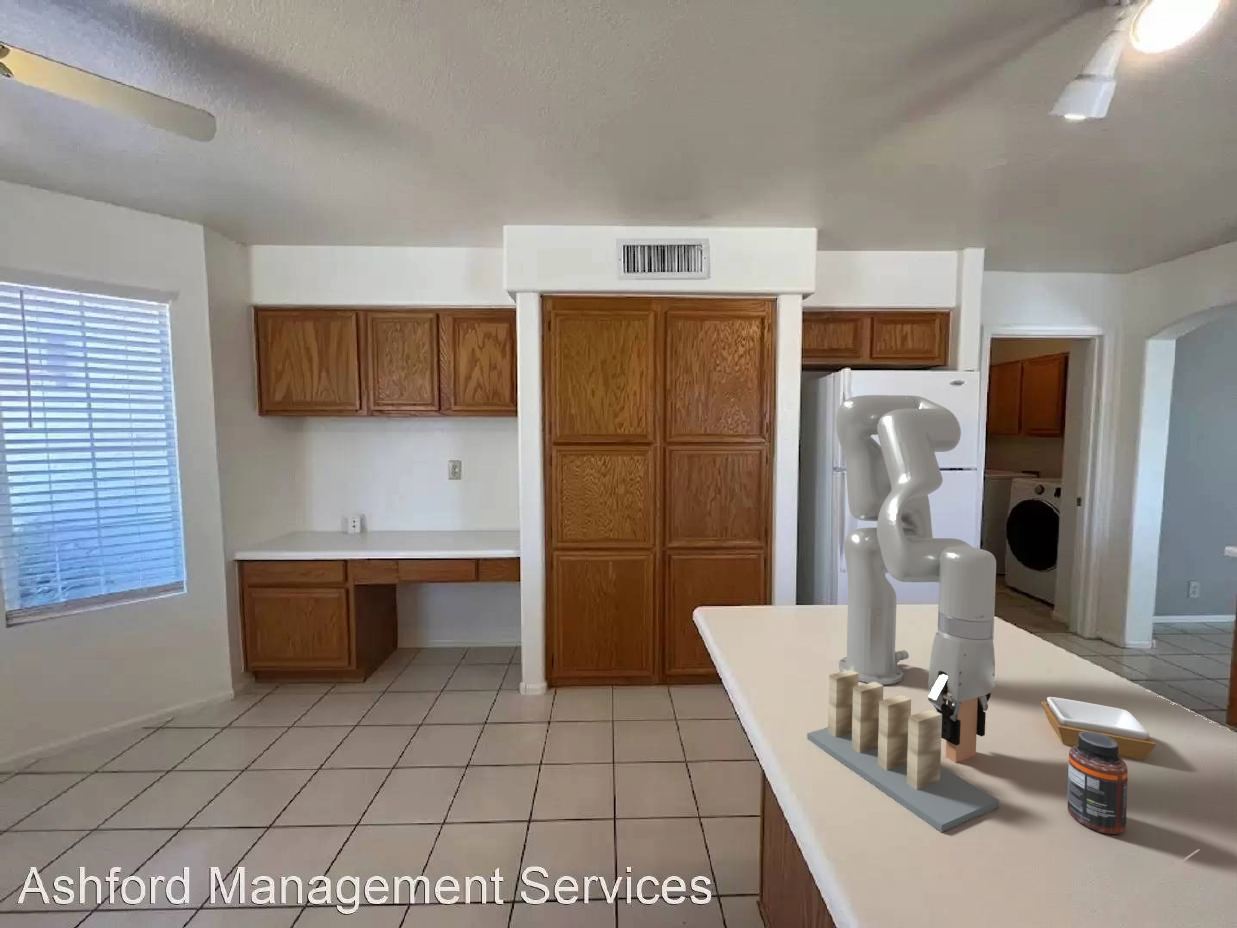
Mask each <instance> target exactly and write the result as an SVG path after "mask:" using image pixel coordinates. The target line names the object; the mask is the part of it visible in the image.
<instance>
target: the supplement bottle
mask: <svg viewBox="0 0 1237 928" xmlns="http://www.w3.org/2000/svg"><path fill="white" fill-rule="evenodd" d="M1078 743H1079V744H1078V745H1075V746H1071V748H1069V752H1068V771H1067V774H1068V776H1067V777H1068V778H1067V780H1068V782H1067V810H1068V813H1069V814H1070V816H1071V817H1072V818H1073V819H1074V820H1075V821H1076V822H1078V823H1079V824H1080V825H1083V826H1084V827H1086V828H1088V829H1091V830H1093V831H1096V832H1098V833H1104V834H1108V835H1109V834H1110V835H1117V834H1118V835H1119V834H1122V833H1124V832H1125V830H1126V829H1127V828H1126V827H1127V807H1128V805H1127V803H1128V781H1129V780H1128V778H1129V777H1128V776H1129V775H1128V774H1129V771H1128V766H1127V763H1126V762H1125V761H1124V760H1123V759H1122V758H1121V756H1120V755H1118V753H1119V752H1118V743H1117V742H1116V741H1115V740H1113V739H1112V738H1110V737H1108V736H1105V735H1103V734H1099V733H1095V732H1088V731H1084V732H1080V733H1079V740H1078Z"/></svg>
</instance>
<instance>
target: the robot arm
mask: <svg viewBox="0 0 1237 928" xmlns="http://www.w3.org/2000/svg"><path fill="white" fill-rule="evenodd" d="M835 427H836V428H835V429H836V435H837V438H838V441H839V445H840V447H841V450H842V453H843V456H844V462H845V476H846V477H845V478H846V489H847V501H848V509H849V512H850V514H851V515H852V517H853V518H855V519H856V520H858V521H865V522H877V524H876V527H862V528H857V529H854V530H852V531H850V532H849V533H848V534H847V535H846V537H845V540H844V544H843V550H844V551H843V552H844V557H845V564H846V569H847V570H846V572H847V618H846V619H847V623H846V625H847V626H846V627H847V629H846V656H845V657H843V658H841V659H840V660H839V661H838V669H839V670H840V672H844V671H848V670H853V671H855V672H857V673H858V682H862V683H865V684H868V683H872V682H877V683H879V684H881V685H883V686H886V685H895V684H897V683H900V682H901V681H902V680H903V677H904V673H903V670H902V669H901V668H900V667H899V666H898V663H899V662H901V661H904V660H908V659H909V653H908V651H906V650H905V649H903V650H902V649H901V650H899V651H896V636H897V635H896V634H897V633H896V630H897V594H896V593H897V592H896V590H895V588H894V586H893V585H892V584H891V582H890V581H889V580H888V578H887V577H886V574H889V575H890V576H891V577H892V578H893V579H895V580H897V581H899V582H902V583H938V609H937V610H938V611H937V613H938V614H937V632H935V635H934V639H933V642H932V646H931V653H930V659H929V660H930V661H929V671H928V691H930V693H929V695H928V697H927V700H928V702H929V703H930V704H931V705H932V706H933V707H934V708H935V711H936V712H939V713H941V714H942V732H941V739H943V740H945V741H946V740H947V741H949V742H950V743H952V744H954V745H959V744H960V726H961V721H960V720H958V715H959V711H960V706H961V702H963V701H967V700H970V699H974V698H977V697H978V706H977V734H976V736H980V737H984V736H986V715H987V714H986V713H987V711H988V710H989V704H988V702H989V700H990V699H991V696H992V693H993V691H994V689H995V687H996V685H997V682H996V681H995V680H996V679H995V677H996V659H995V656H996V655H995V646H994V645H995V644H994V635H995V634H994V631H995V611H996V610H995V608H996V607H995V605H996V579H997V578H996V577H997V560H996V558H995V555H994V554H993V553H992V552H990V551H988V550H985V549H981V548H978V547H974V546H972V545H971V544H969V543H967V542H966V541H964V540H962V539H958V538H949V537H948V538H942V537H941V538H938V537H937V538H934V537H933V536H934V535H933V528H932V527H933V525H932V515H931V506H930V505H931V504H930V499H929V495H930V494H932V493H934V492H935V491H937V490H938V489H940V487H941V486H942V484H943V475H942V473H941V470H940V465H939V463H938V460H937V459H938V458H937V456H936V453H945V452H950V451H952V450H954V449H955V448H957V446H958V444H959V443H960V440H961V433H962V432H961V425H960V421H959V420H958V418H957V417H956V416H955V414H954V413H953V412H952V411H951V410H950V409H948V408H946V407H944V406H943V405H941V404H938V403H936V402H934V401H932V400H929V399H928V398H926V397H922V396H919V395H908V394H907V395H900V394H899V395H895V394H894V395H893V394H892V395H890V394H889V395H888V394H887V395H886V394H868V395H866V394H865V395H864V394H863V395H856V396H851V397H848V398H847V399H845V400H844V401H842V403H841V404H840V405H839V408H838V410H837V413H836V417H835ZM873 435H875V436H876V435H877V436H878V441H879V443H878V442H877V441H876V440H875V439H874V438H873V437H872V436H873ZM948 693H949V694H950V695H948ZM951 696H952V697H951ZM948 701H951V702H953V705H952V709H951V708H950V707H949V706H948V705H947V704H948Z"/></svg>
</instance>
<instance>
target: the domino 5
mask: <svg viewBox="0 0 1237 928" xmlns="http://www.w3.org/2000/svg"><path fill="white" fill-rule="evenodd" d="M950 696H951V695H950ZM951 697H952V696H951ZM946 704H947V705H948V706H949V707H950V708H951V709H952V705H953V702H951V701H948V700H947V703H946ZM977 706H978V697H977V698H974V699H970V700H967V701H963V702H961V706H960V711H959V715H958V720H960V721H961V726H960V744H959V745H954V744H952V743H950V742H949V741H947V740H945V758H946V759H948V760H950V761H952V763H953V762H954V763H960V762H961V761H965V760H966V759H969V758H972V757H974V756H976V755H977Z"/></svg>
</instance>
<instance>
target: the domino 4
mask: <svg viewBox="0 0 1237 928" xmlns="http://www.w3.org/2000/svg"><path fill="white" fill-rule="evenodd" d="M941 732H942V714H941V713H939V712H937V711H936V710H934V709H928V710H925V711H921V712H918V713H915V714H911V716H909V718H908V753H907V784H909V785H910V786H912V787H913V788H915V789H916V790H917V789H920V788H922V787H925V786H927V785H930V784H933V783H935V782H938V781H940V766H941V764H942V763H941V760H942V755H941V754H942V738H941Z"/></svg>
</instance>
